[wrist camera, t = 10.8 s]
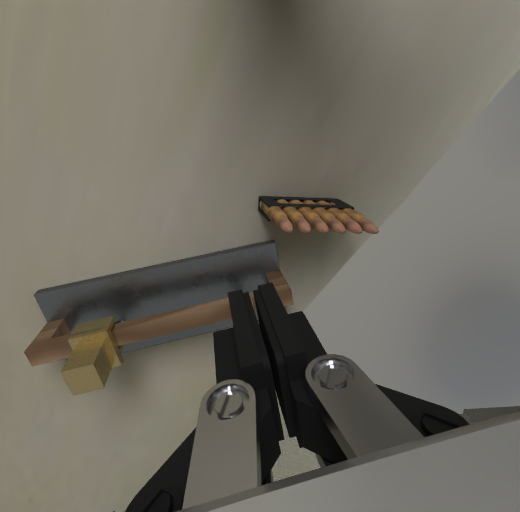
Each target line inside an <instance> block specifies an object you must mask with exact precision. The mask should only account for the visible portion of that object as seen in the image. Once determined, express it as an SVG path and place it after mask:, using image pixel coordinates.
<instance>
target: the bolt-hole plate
mask: <svg viewBox="0 0 520 512" xmlns="http://www.w3.org/2000/svg"><path fill="white" fill-rule="evenodd" d="M278 270H280V269H279V262H278V256H277V249H276V243H275V241H274V240H270V241H265V242H261V243H256V244H251V245H247V246H242V247H237V248H233V249H228V250H223V251H219V252H214V253H209V254H205V255H200V256H195V257H191V258H186V259H181V260H177V261H172V262H167V263H163V264H158V265H153V266H149V267H144V268H139V269H135V270H130V271H125V272H121V273H116V274H111V275H107V276H102V277H97V278H93V279H88V280H83V281H79V282H74V283H69V284H65V285H60V286H55V287H51V288H46V289H41V290H38V291H37V292H36V293H35V294H34V296H35V298H36V300H37V302H38V304H39V306H40V308H41V310H42V312H43V314H44V316H45V318H46V320H47V322H51V321H56V320H60V319H65V321H66V323H67V325H68V327H69V329H70V331H71V332H70V333H69V334H72V332H73V331H74V329H75V327H76V326H77V324H80V323H84V322H88V321H93V320H97V319H102V318H106V317H110V316H114V318H115V322H114V324H116V323H120V322H125V321H129V320H133V319H138V318H142V317H146V316H151V315H155V314H159V313H164V312H168V311H172V310H177V309H181V308H185V307H190V306H194V305H198V304H203V303H207V302H211V301H216V300H220V299H224V298H228V293H227V292H232V291H236V290H240V289H242V291H243V293H245V292H249V293H251V292H253V290H258V285H262V284H267V281H266V275H265V273H269V272H273V271H278ZM284 307H285V306H284ZM285 310H286V309H285ZM255 314H256V318H257V320H258V315H257V313H255ZM232 326H233V321H232V319H229V320H225V321H221V322H217V323H213V324H208V325H204V326H200V327H196V328H192V329H187V330H183V331H179V332H175V333H171V334H166V335H162V336H158V337H154V338H150V339H145V340H141V341H137V342H133V343H129V344H125V345H124V348H123V351H122V353H124V352H128V351H132V350H136V349H141V348H145V347H149V346H153V345H157V344H161V343H166V342H170V341H174V340H178V339H182V338H186V337H191V336H195V335H199V334H203V333H207V332H211V331H215V330H220V329H224V328H228V327H232ZM66 359H67V360H68V358H66Z"/></svg>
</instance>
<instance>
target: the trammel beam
mask: <svg viewBox="0 0 520 512" xmlns="http://www.w3.org/2000/svg"><path fill="white" fill-rule="evenodd" d="M265 275H266V281H267V283H271V282H272V283H273V285H274V287H275V289H276V291H277V293H278V295H279V297H280V299H281V301H282V303H283V305H284V306H288V305H293V300H292V292H291V289H290V287H289V285H288V284H287V282H286V280H285V278H284V277H283V275H282V273H281V272H280V270H278V271H273V272H269V273H265ZM249 295H250V298H251V301H252V305H253V308H254V311H255V313H257V310H256V305H255V300H254V294H253V292H251V293H249ZM229 319H232V316H231V310H230V304H229V299H228V298H224V299H220V300H216V301H211V302H207V303H203V304H198V305H194V306H190V307H185V308H181V309H177V310H172V311H168V312H164V313H159V314H155V315H151V316H146V317H142V318H138V319H133V320H129V321H125V322H120V323H116V324H113V327H112V329H111V331H112V334H113V336H114V338H115V341H116V343H117V346H120V345H124V344H129V343H133V342H137V341H141V340H145V339H150V338H154V337H158V336H162V335H166V334H171V333H175V332H179V331H183V330H187V329H192V328H196V327H200V326H204V325H208V324H213V323H217V322H221V321H225V320H229ZM70 332H71V331H70V329H69V327H68V325H67V323H66V321H65V319H60V320H56V321H51V322H48V323H47V324H46V325H45V326H44V328H43V329H42V330H41V331H40V333H39V334H38V335H37V336H36V338H35V339H34V340H33V342H32V343H31V344H30V345H29V347H28V348H27V349H26V350H25V352H24V353H25V355H26V356H27V358H28V360H29V362H30V363H31V365H32V366H36V365H40V364H44V363H49V362H53V361H57V360H61V359H65V358H69V357H70V355H71V353H72V351H73V350H72V348H71V346H70V344H69V342H68V339H69V337H70V335H71V334H69V333H70Z"/></svg>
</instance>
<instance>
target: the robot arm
mask: <svg viewBox="0 0 520 512" xmlns="http://www.w3.org/2000/svg"><path fill="white" fill-rule="evenodd" d="M227 293H228V299H229V304H230V310H231V316H232V321H233V328H229V329H225V330H221V331H217V332H214V333H213V337H214V352H215V366H216V381H217V384H216V385H214V386H213V387H212V388H211V389H209V390H208V391H207V392H206V394H205V395H204V397H203V399H202V401H201V404H200V410H199V415H198V421H197V427H196V428H195V429H194V430H193V431H192V433H191V434H190V435H189V436H188V437H187V438H186V439H185V440H184V442H183V443H182V444H181V445H180V446H179V447H178V448H177V450H176V451H175V452H174V453H173V454H172V455H171V456H170V457H169V459H168V460H167V461H166V462H165V463H164V464H163V465H162V466H161V468H160V469H159V470H158V471H157V472H156V473H155V474H154V475H153V477H152V478H151V479H150V480H149V481H148V482H147V483H146V485H145V486H144V487H143V488H142V489H141V490H140V491H139V492H138V494H137V495H136V496H135V497H134V499H133V500H132V501H131V503H130V504H129V506H128V507H127V509H126V511H124V512H520V406H515V407H497V408H479V409H464V411H463V414H457V413H456V412H454V411H452V410H450V409H448V408H445V407H443V406H440V405H437V404H434V403H431V402H428V401H425V400H421V399H419V398H416V397H413V396H410V395H407V394H404V393H401V392H398V391H395V390H392V389H389V388H386V387H382V386H380V385H377V384H374V383H373V382H372V381H371V380H370V378H369V377H368V376H367V375H366V374H365V373H364V372H363V371H362V370H361V369H360V368H359V367H358V366H357V365H356V364H355V363H354V362H353V361H352V360H350V359H349V358H346V357H344V356H341V355H336V354H333V355H332V354H328V355H327V353H326V352H325V350H324V348H323V347H322V345H321V343H320V341H319V339H318V338H317V336H316V334H315V332H314V331H313V329H312V327H311V325H310V324H309V322H308V320H307V318H306V317H305V315H304V313H303V312H302V311H300V312H296V313H291V314H287V312H286V310H285V307H284V305H283V303H282V301H281V299H280V297H279V295H278V293H277V291H276V289H275V287H274V285H273V283H272V282H271V283H267V284H262V285H258V290H253V294H254V300H255V305H256V310H257V315H258V320H259V324H258V321H257V318H256V314H255V311H254V308H253V305H252V301H251V298H250V295H249V292H245V293H243V291H242V289H240V290H236V291H232V292H227ZM259 326H260V327H259ZM275 390H276V392H275ZM276 393H277V397H278V400H279V403H280V407H281V410H282V414H283V417H284V420H285V424H286V427H287V431H288V434H289V437H290V438H291V437H295V436H296V437H297V440H298V444H299V447H300V448H302V447H304V448H306V449H308V450H310V451H312V452H314V453H316V457H317V460H318V463H319V465H320V467H321V468H319V469H316V470H312V471H309V472H305V473H302V474H299V475H295V476H292V477H289V478H285V479H282V480H279V481H275V482H274V481H273V473H272V467H273V466H274V464H275V462H276V461H277V459H278V457H279V455H280V454H281V451H280V446H279V441H281V440H284V435H283V429H282V424H281V418H280V413H279V408H278V402H277V397H276ZM113 512H115V511H113Z"/></svg>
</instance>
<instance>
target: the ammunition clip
mask: <svg viewBox="0 0 520 512" xmlns="http://www.w3.org/2000/svg"><path fill="white" fill-rule="evenodd" d="M258 210H259V212H260V213H261V214H262V215H263V216H264V217H265V218H266V219H267V220H268V221H272V222H273V223H274V224H275V225H276V226H278V227H279V228H281V229H282V230H283V231H285V232H287V233H291V232H292V231H293V226H294V227H296V228H298V229H299V230H300V231H302V232H304V233H309V232H310V231H311V227H312V228H314V229H315V230H317V231H319V232H321V233H328V231H329V229H331V230H332V231H334V232H337V233H345V232H346V230H348V231H350V232H352V233H357V234H360V233H362V230H363V231H365V232H368V233H371V234H377V233H378V232H379V231H378V228H377V227H376V226H375V225H374V224H373V223H372V222H371V221H369V220H368V219H366V218H365V217H364V216H363V215H362V214H360V213H358V212H356V211H354V207H352V206H350V205H348V204H346V203H345V202H343V201H341V200H339V199H330V198H301V197H272V196H259V205H258ZM328 228H329V229H328ZM345 229H346V230H345Z"/></svg>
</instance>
